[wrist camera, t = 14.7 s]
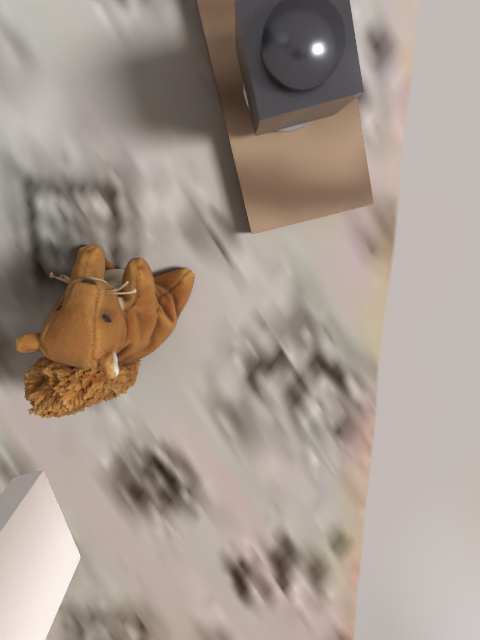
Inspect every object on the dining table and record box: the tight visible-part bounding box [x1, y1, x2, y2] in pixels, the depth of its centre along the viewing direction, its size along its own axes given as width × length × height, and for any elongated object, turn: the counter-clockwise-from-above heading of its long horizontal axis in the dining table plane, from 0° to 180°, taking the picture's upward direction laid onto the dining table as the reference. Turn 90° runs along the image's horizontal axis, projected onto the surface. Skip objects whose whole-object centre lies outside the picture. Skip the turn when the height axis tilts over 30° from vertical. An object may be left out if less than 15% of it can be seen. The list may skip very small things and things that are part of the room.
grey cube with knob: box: [235, 0, 364, 136], centre depth 28 cm, size 6×6×9 cm
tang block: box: [196, 0, 373, 234], centre depth 32 cm, size 20×10×6 cm, turn 14°
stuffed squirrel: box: [16, 244, 195, 419], centre depth 33 cm, size 10×14×13 cm
